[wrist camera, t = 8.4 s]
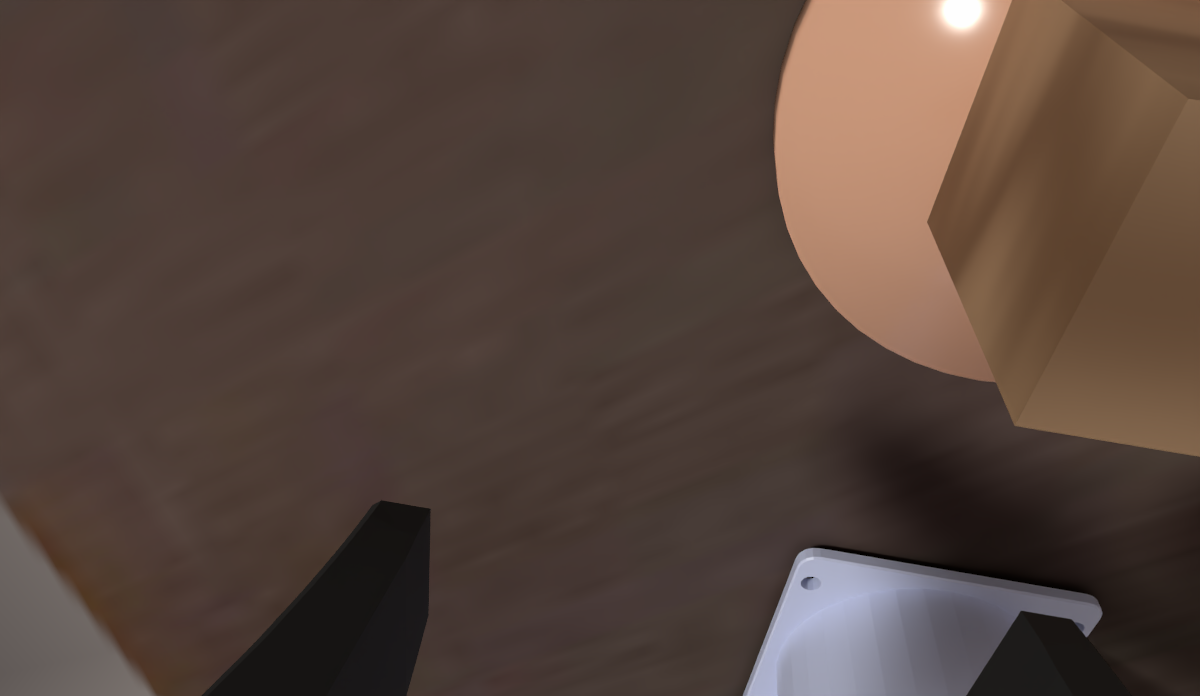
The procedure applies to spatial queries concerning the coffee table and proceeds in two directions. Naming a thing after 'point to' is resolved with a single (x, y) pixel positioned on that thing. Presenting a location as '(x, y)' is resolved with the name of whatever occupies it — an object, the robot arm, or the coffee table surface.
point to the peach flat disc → (882, 162)
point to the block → (1085, 219)
